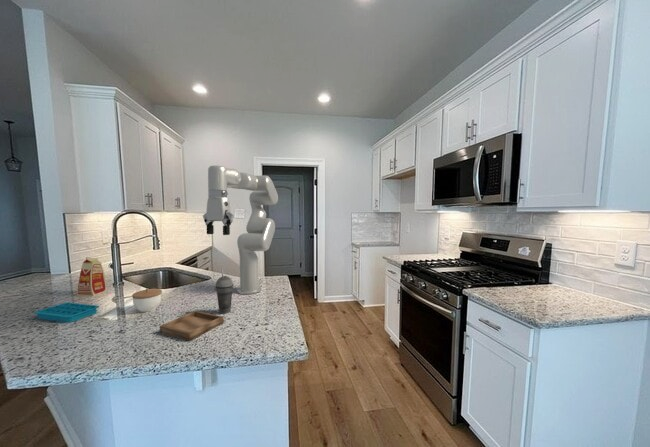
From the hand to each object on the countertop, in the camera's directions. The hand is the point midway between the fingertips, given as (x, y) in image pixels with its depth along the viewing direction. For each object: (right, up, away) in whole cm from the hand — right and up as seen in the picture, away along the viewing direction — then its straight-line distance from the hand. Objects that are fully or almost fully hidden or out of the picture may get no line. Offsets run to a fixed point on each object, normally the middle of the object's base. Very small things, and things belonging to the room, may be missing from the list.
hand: (218, 234), depth 110 cm
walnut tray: (-3, -34, -15) cm, 37 cm away
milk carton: (-78, -33, +25) cm, 88 cm away
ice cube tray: (-62, -35, -3) cm, 71 cm away
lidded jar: (-33, -34, +3) cm, 47 cm away
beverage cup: (+3, -34, 0) cm, 34 cm away
